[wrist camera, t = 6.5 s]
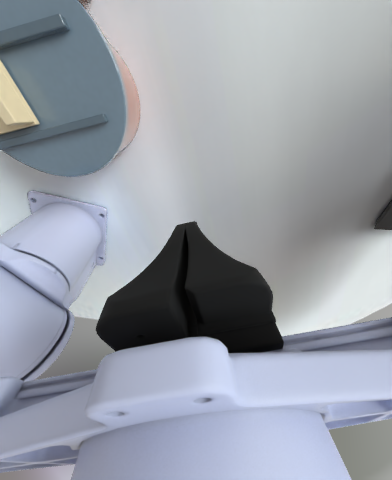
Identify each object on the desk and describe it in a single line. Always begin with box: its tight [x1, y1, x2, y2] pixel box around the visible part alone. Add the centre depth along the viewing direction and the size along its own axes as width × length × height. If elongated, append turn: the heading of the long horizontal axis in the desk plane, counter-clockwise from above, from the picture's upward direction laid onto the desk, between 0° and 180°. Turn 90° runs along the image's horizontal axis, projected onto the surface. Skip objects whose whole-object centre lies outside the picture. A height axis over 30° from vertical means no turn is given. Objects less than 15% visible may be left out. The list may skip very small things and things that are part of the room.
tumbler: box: [0, 0, 140, 177], centre depth 12 cm, size 9×9×7 cm
